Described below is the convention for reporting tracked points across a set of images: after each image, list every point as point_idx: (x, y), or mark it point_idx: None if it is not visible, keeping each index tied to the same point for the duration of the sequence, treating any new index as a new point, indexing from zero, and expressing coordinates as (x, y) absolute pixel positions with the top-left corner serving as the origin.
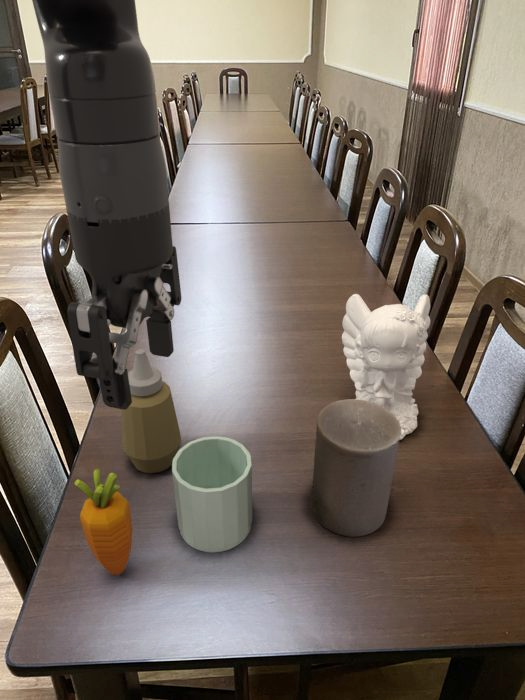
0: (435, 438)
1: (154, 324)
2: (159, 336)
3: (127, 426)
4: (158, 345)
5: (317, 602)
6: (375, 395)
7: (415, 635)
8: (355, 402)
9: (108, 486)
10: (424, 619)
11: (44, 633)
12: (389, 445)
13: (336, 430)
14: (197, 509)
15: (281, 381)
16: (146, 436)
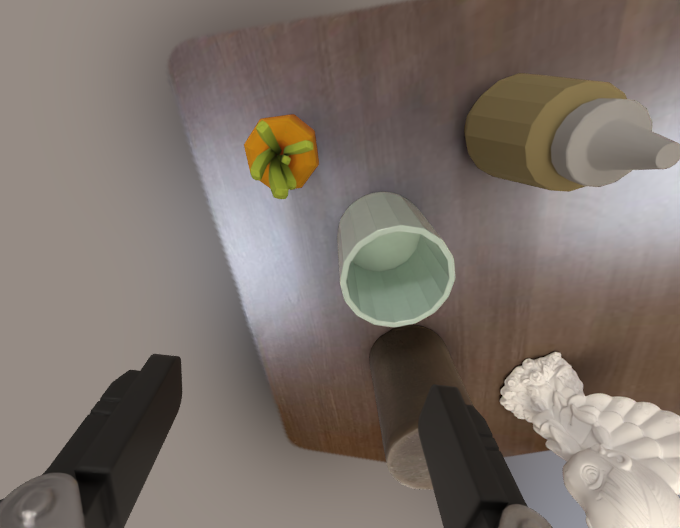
0: (501, 425)
1: (464, 508)
2: (445, 467)
3: (510, 105)
4: (434, 431)
5: (296, 334)
6: (545, 423)
7: (281, 395)
8: None
9: (270, 184)
10: (295, 401)
11: (202, 73)
12: (399, 481)
13: None
14: (340, 254)
15: (650, 278)
16: (489, 143)
